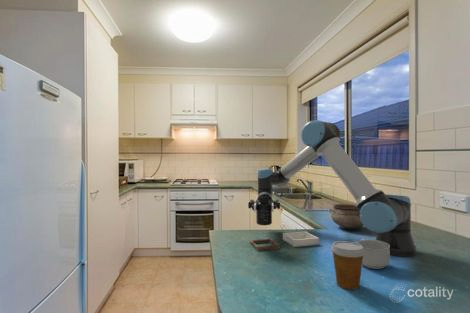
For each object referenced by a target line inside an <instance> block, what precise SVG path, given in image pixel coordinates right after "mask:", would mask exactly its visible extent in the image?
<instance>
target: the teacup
mask: <svg viewBox="0 0 470 313" xmlns="http://www.w3.org/2000/svg"><path fill="white" fill-rule="evenodd" d="M356 243H358V244H360V245H362V246H363V249H364V251H365V253H364V255H363V260H362V265H363V266H365V268H369V269H374V270H380V269H383V268H385V267H386V266H388V265H389V264H390V261H391V255H390V245H389V244H388V243H386V242H383V241H378V240H376V239H366V238H361V239H360V240H357V241H356Z"/></svg>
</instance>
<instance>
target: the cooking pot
mask: <svg viewBox="0 0 470 313" xmlns="http://www.w3.org/2000/svg"><path fill="white" fill-rule="evenodd" d="M327 211H328V213H330V217H331V219H332V221H333V222H334V223H335V224H336V225H338V226H339V227H340V228H342V229H344V230H347V229H350V230H349V231H354V230H355V229H356V230H358V229H360V228H362V227H363V226H364V225H363V223H362V222H361V219H360V212H359V210H358V209H357V207H356V203H345V202H343V203H333V204H332V208H329V209H328V210H327ZM364 227H365V226H364Z"/></svg>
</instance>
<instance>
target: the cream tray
mask: <svg viewBox="0 0 470 313" xmlns="http://www.w3.org/2000/svg"><path fill="white" fill-rule="evenodd" d="M282 240H283V241H284V242H286V243H287V244H289V245H290V246H292V247H294V248H299V247H309V246H312V247H313V246H319V245H320V238H319V237H318V236H316V235H314V234H311V233H310V232H308V231H306V230H305V231H293V232H292V231H291V232H283V233H282Z"/></svg>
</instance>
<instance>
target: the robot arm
mask: <svg viewBox="0 0 470 313" xmlns="http://www.w3.org/2000/svg"><path fill="white" fill-rule="evenodd" d="M300 137H301V142H302V143H303V144H304V145H305V146H306V147H305V148H303V149H302V150H300V151H299V153H298V154H295V156H294V157H292V158H291V159H290V160H288V161H287V163H286V164H284V165H282V167H281V168H279V169H278V170H277V171H273V170H272V168H259V169H258V170H257V199H256V200H255V199H250V201H249V202H248V203H247V205H248V208H247V209H251V210H252V211H253V212H256V204H257V203H258V202H259V201H258V197H259V196H269V200H270V201H269V202H270V203H271V204H272V213H273V212H275V211H274V210H278V209H279V210H280V209H281V203H280V201H279V200H278V199H276V200H273V186H279V185H286V184H288V183H290V180H291V178H293V176H295V175H296V174H298V173H299V172H301V170H303V169H304V168H305V167H306V166H308V165H309V164H311V162H313V161H314V160H316V159H317V158H318V157H319V156H322V157H323V158H324V160H325V161H326V163H327V164H328V165H329V166H330V167H331V169H332V170H333V171H334V173H335V175H337V177H338V178H339V180H340V181H341V182H342V184H343V185H344V187H345V188H346V189H347V191H348V192H349V193H350V194H351V196H352V197H353V198H354V200H355V201H356V203H355V204H356V207H357V209H358V210H359V212H360V219H361V222H362V223H363V225H364V227H365V228H366V229H368V230H369V231H371V232H374V233H377V234H376V237H375V240H378V241H383V242H386V243H388V244H389V245H390V256H397V257H412V256H416V254H417V247H416V245H415V242H414V238H413V236H412V231H411V229H412V225H411V223H412V220H411V219H412V218H411V217H412V216H411V215H412V214H411V211H412V209H411V206H412V203H411V198H410V197H409V196H407V195H398V194H397V195H395V194H386V193H384V191H383V190H381V189H378V188H377V189H376V188H375V186H374V185H373V183H371V182H370V180H369V179H368V177H366V175H365V174H364V173H363V172H362V171H361V169H360V168H359V167H358V165H357V164H356V163H355V161H353V160H352V158H351V157H350V156H349V155H348V153H347V152H346V151H345V150H344V147H342V145H340V141H341V137H342V133H341V129H340V127H338V126H337V125H336V124H335V123H333V122H329V121H328V122H327V121H322V120H318V119H316V120H315V119H313V120H310V121H308V122H306V123H305V125H304V126H303V127H302V129H301V135H300Z"/></svg>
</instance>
